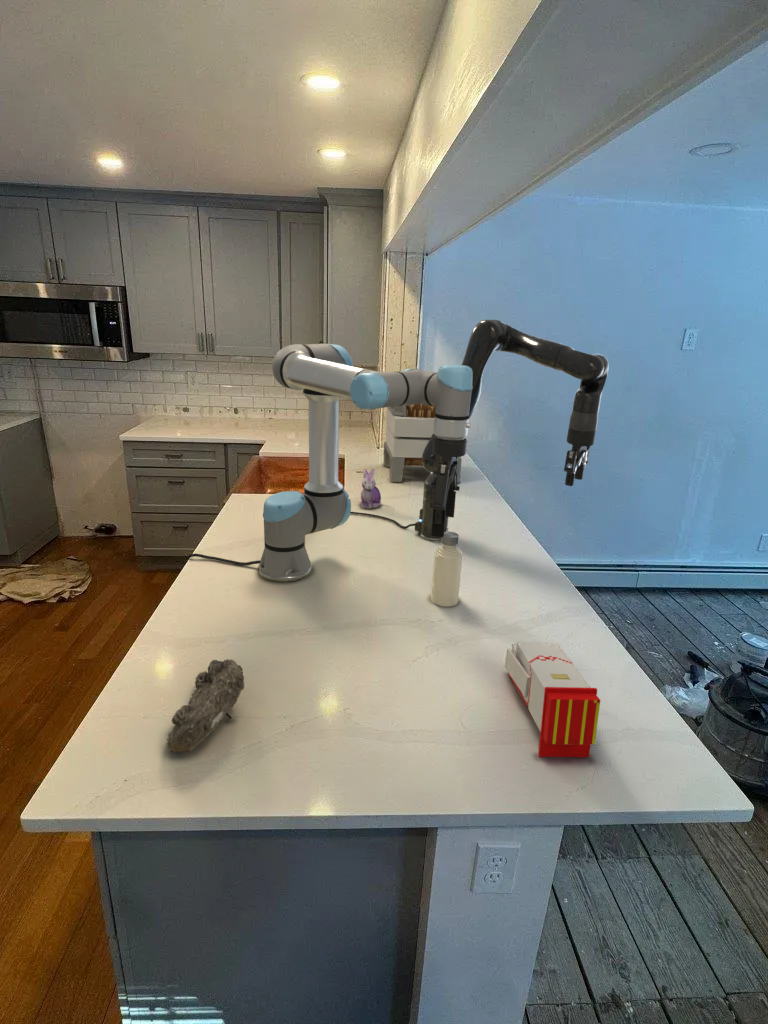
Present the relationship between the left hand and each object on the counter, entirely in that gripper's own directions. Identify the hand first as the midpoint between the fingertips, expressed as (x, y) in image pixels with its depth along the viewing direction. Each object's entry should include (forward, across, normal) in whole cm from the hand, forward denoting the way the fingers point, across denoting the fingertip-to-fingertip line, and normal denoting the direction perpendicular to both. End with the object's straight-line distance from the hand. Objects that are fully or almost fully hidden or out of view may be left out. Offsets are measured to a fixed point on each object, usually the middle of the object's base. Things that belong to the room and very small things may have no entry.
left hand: (443, 525), depth 133 cm
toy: (+27, -23, -27) cm, 45 cm away
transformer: (+27, +136, +35) cm, 143 cm away
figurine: (+27, +82, +43) cm, 96 cm away
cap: (+8, +15, 0) cm, 17 cm away
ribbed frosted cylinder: (+27, +15, 0) cm, 31 cm away
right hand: (-2, +44, -30) cm, 54 cm away
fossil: (+27, -47, +34) cm, 64 cm away
